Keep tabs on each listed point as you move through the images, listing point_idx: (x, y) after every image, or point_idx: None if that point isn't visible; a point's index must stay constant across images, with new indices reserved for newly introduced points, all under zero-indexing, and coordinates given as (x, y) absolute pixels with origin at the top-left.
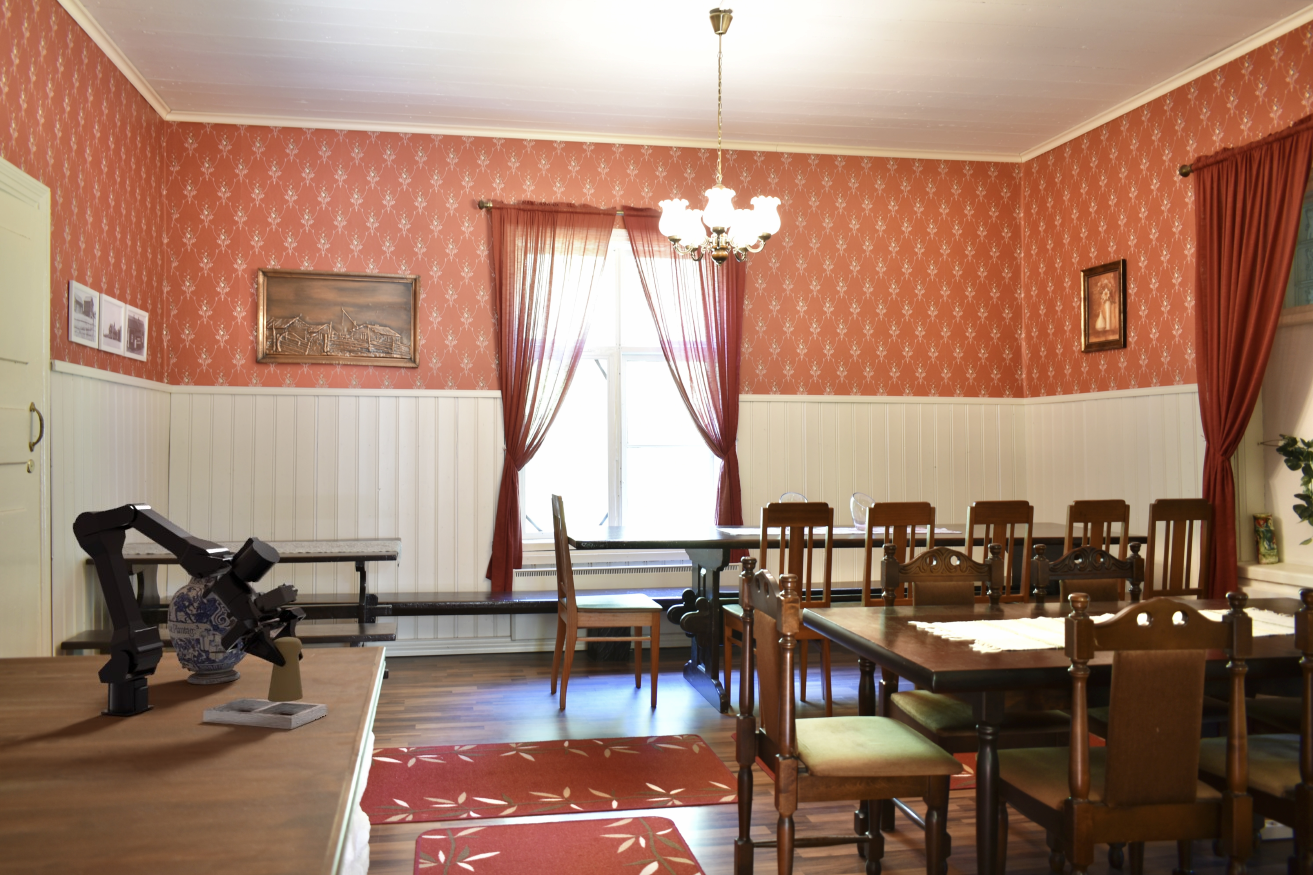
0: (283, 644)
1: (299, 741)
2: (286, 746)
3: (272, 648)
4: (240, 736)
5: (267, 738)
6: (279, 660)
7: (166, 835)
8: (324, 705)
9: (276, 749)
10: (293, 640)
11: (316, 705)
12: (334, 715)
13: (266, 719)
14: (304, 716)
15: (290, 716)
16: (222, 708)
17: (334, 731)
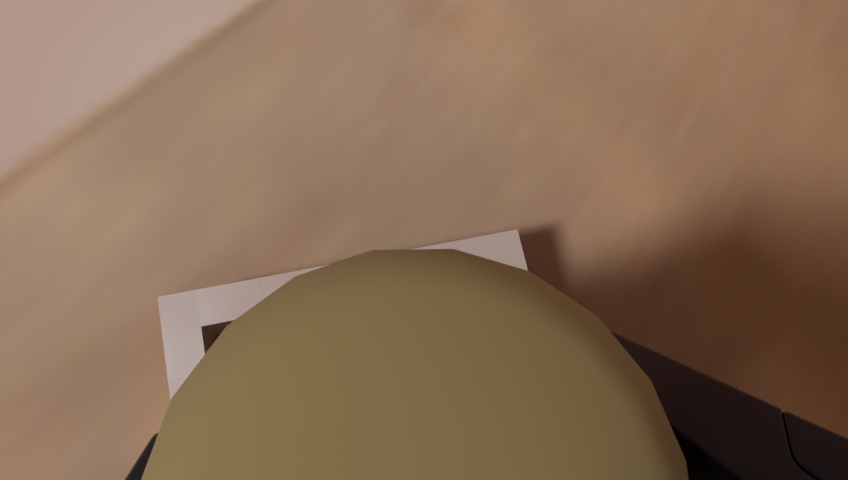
0: (626, 356)
1: (626, 41)
2: (708, 33)
3: (796, 420)
4: (737, 378)
5: (679, 216)
6: None
7: None
8: (185, 292)
9: (760, 37)
10: (446, 287)
11: (203, 348)
12: (162, 261)
13: None
14: None
15: (499, 260)
16: None
17: (422, 20)
